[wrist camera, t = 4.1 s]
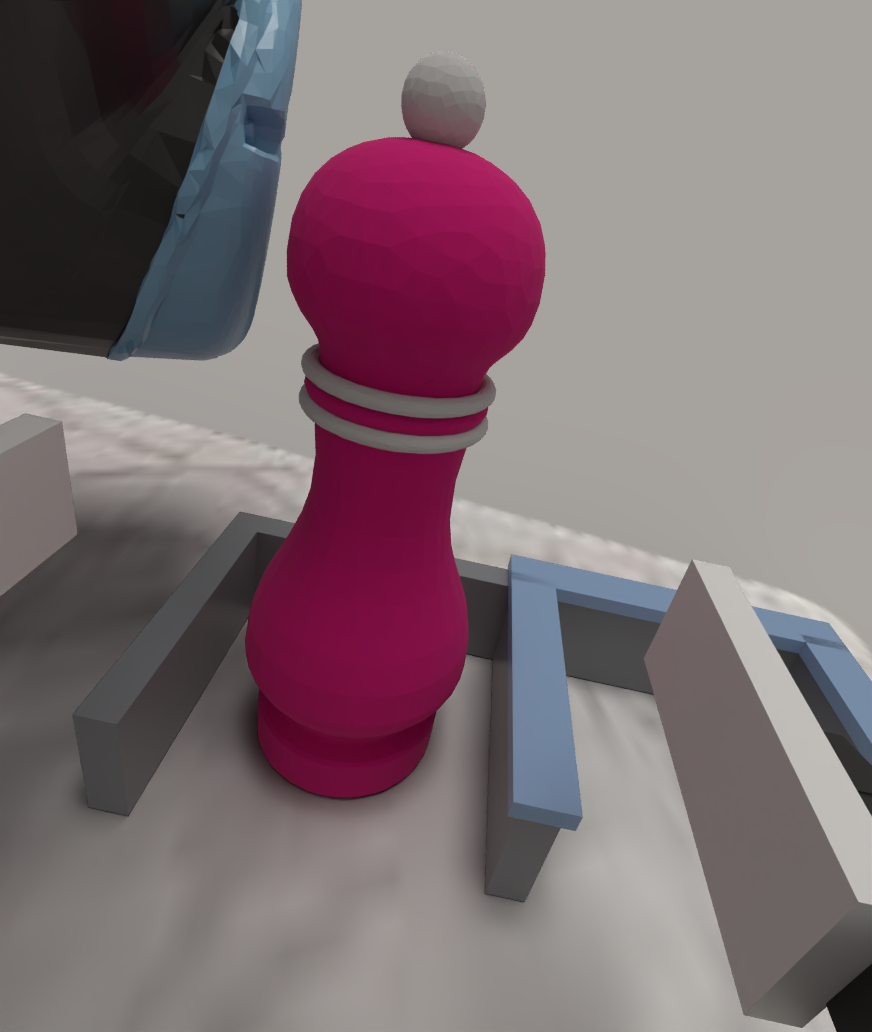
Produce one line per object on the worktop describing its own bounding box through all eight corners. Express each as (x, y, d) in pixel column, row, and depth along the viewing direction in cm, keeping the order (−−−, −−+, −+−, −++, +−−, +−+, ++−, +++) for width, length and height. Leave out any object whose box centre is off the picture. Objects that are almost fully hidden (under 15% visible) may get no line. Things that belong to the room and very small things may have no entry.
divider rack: (84, 813, 17) (64, 704, 15) (240, 582, 28) (243, 496, 25) (936, 998, 17) (1044, 917, 15) (778, 698, 28) (828, 623, 25)
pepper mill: (249, 652, 24) (273, 32, 14) (423, 652, 26) (552, 103, 16) (233, 823, 18) (254, -49, 8) (460, 807, 20) (704, 81, 10)
